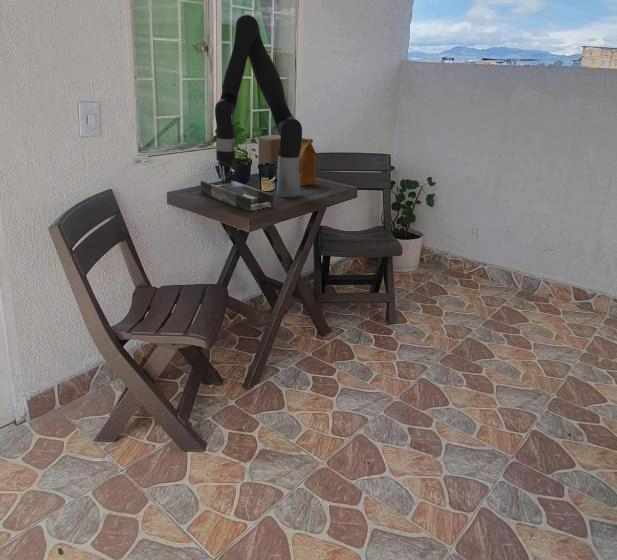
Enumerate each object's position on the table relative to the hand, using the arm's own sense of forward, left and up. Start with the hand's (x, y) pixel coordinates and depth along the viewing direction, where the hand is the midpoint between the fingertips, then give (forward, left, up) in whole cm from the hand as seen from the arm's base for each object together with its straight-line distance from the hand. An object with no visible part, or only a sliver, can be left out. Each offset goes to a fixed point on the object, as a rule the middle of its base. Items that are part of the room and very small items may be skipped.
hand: (225, 189), depth 239 cm
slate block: (0, +6, -1) cm, 6 cm away
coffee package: (-43, +1, -3) cm, 43 cm away
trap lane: (0, +8, -3) cm, 8 cm away
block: (-38, -16, -3) cm, 41 cm away
